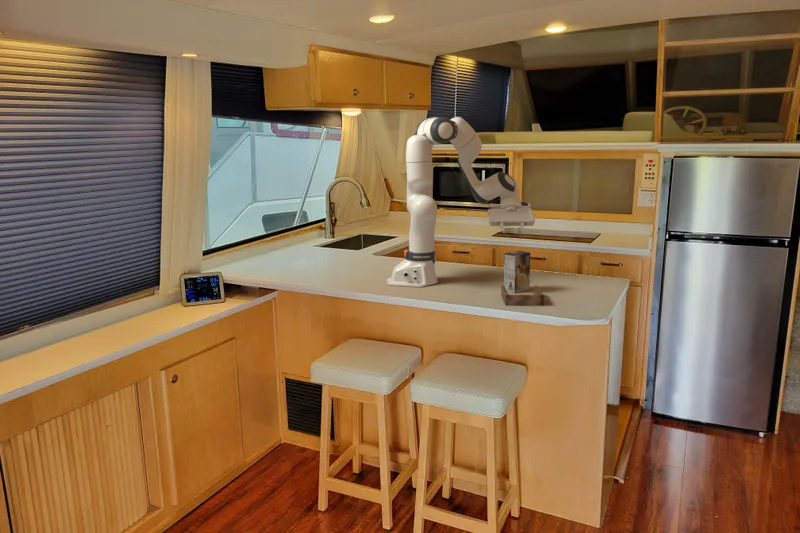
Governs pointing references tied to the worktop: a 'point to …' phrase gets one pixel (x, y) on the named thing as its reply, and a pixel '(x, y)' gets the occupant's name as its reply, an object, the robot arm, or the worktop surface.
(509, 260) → the coffee box
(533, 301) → the box
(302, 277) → the worktop surface
